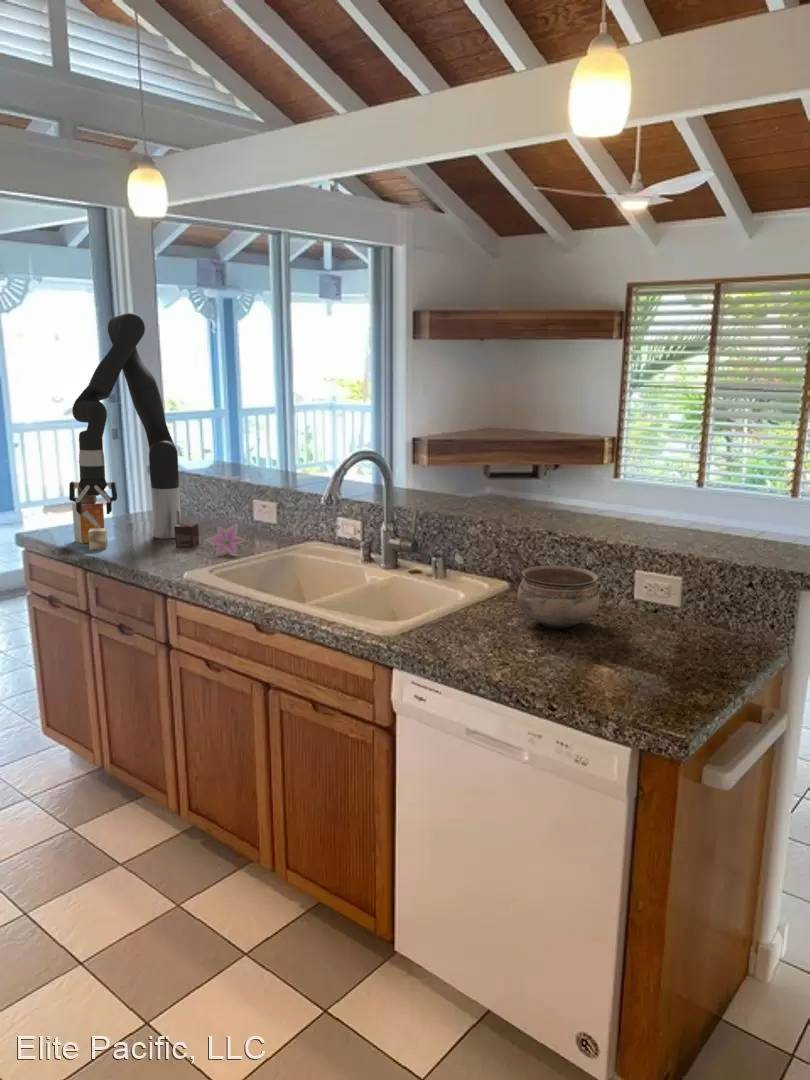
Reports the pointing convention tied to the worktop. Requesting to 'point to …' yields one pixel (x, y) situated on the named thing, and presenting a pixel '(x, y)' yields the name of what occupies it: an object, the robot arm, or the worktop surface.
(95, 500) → the walnut block
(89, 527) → the small box
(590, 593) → the cooking pot
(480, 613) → the worktop surface
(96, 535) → the maple block
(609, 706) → the worktop surface
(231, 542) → the lily
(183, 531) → the box
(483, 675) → the worktop surface
